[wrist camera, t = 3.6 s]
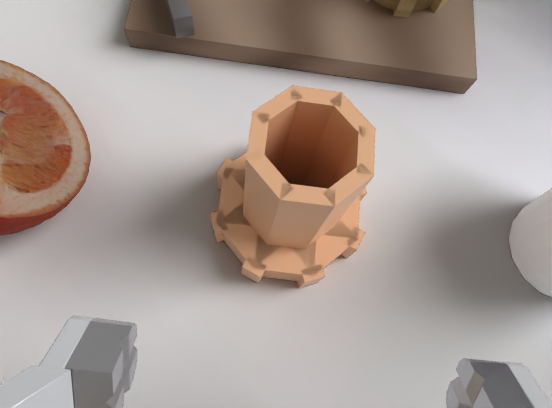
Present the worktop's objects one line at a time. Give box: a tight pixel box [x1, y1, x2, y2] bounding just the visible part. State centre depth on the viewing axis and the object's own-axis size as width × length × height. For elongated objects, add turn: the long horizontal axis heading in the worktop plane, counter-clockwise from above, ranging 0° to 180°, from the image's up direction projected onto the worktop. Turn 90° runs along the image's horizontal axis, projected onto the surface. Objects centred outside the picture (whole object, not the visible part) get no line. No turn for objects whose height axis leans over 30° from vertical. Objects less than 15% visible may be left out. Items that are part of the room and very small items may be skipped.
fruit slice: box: [0, 60, 91, 236], centre depth 21 cm, size 8×7×5 cm
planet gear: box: [210, 85, 375, 288], centre depth 19 cm, size 8×8×8 cm
